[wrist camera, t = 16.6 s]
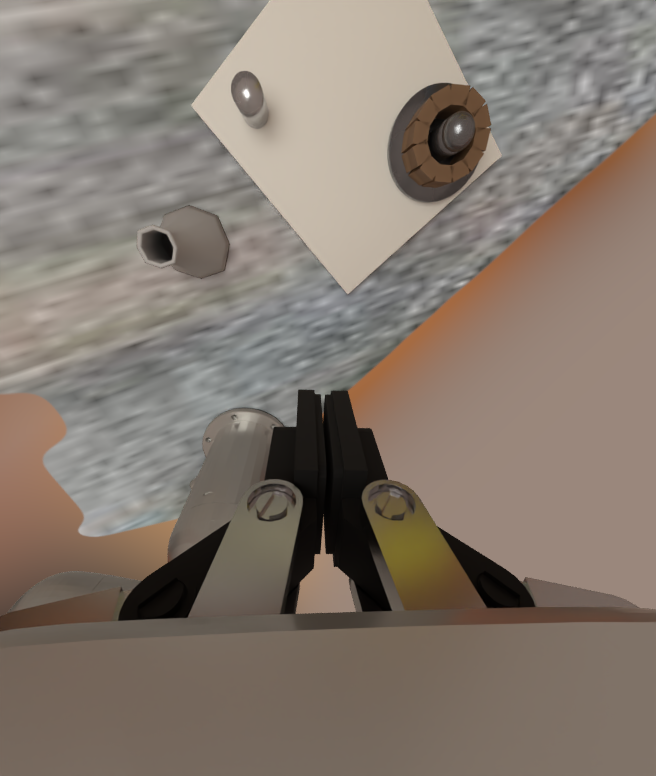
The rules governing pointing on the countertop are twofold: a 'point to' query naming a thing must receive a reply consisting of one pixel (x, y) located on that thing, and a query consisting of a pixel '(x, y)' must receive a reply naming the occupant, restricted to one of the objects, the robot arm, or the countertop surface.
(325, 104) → the board
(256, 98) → the grey capsule
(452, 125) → the hub
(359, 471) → the robot arm
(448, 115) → the walnut ring
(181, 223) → the flask
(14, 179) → the countertop surface
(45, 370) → the countertop surface
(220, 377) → the countertop surface
